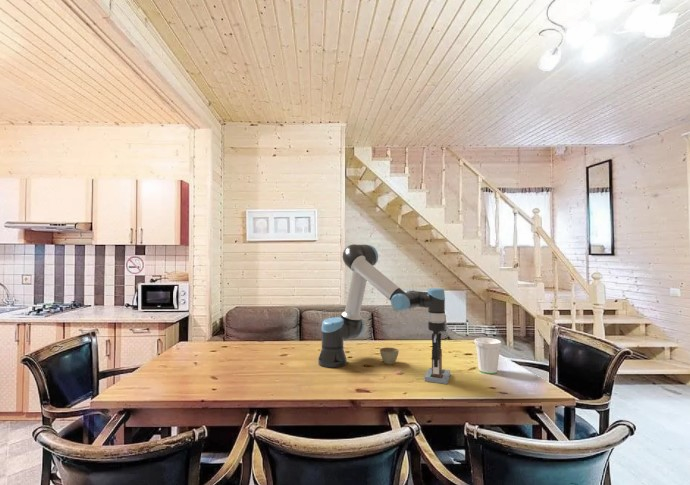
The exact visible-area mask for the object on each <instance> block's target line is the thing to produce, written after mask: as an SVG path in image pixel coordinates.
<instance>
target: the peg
mask: <svg viewBox="0 0 690 485" xmlns="http://www.w3.org/2000/svg"><path fill="white" fill-rule="evenodd" d="M431 368H432V377H440V378H441V376H442V369H443V349H442V348H441V349H439V374H433V360H432V359H431Z"/></svg>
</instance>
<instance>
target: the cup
mask: <svg viewBox="0 0 690 485" xmlns="http://www.w3.org/2000/svg"><path fill="white" fill-rule="evenodd" d="M474 344H475V347H476V348H475V349H476V356H477V364H478V371H479V372H480V373H482V374H486V375H495V374H497V373H498V368H499V367H498V366H499V357H500V351H501V349H500V348H501V346H502V341H501V340H500V339H498V338H490V337H476V338H474Z"/></svg>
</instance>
